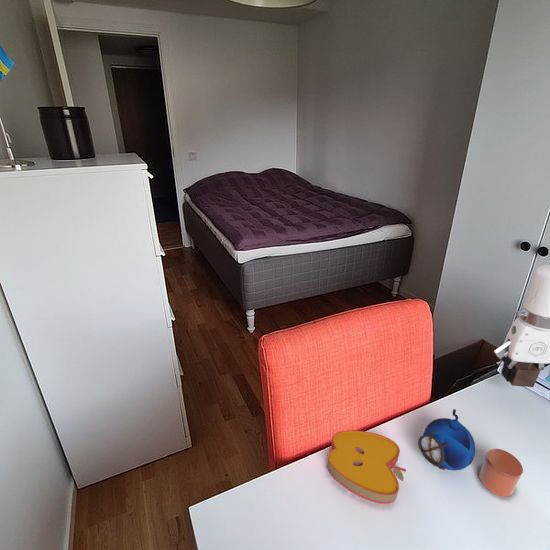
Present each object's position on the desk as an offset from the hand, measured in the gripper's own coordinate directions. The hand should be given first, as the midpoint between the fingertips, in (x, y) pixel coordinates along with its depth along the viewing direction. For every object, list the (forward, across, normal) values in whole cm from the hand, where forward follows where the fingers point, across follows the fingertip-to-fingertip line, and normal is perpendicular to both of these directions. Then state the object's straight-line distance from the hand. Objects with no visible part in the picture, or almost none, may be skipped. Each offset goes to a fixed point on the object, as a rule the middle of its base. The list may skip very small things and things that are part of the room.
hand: (517, 378), depth 87 cm
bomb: (+7, -24, -21) cm, 33 cm away
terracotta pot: (+7, -15, -25) cm, 30 cm away
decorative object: (+4, -48, -24) cm, 54 cm away
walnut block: (0, 0, 0) cm, 0 cm away
